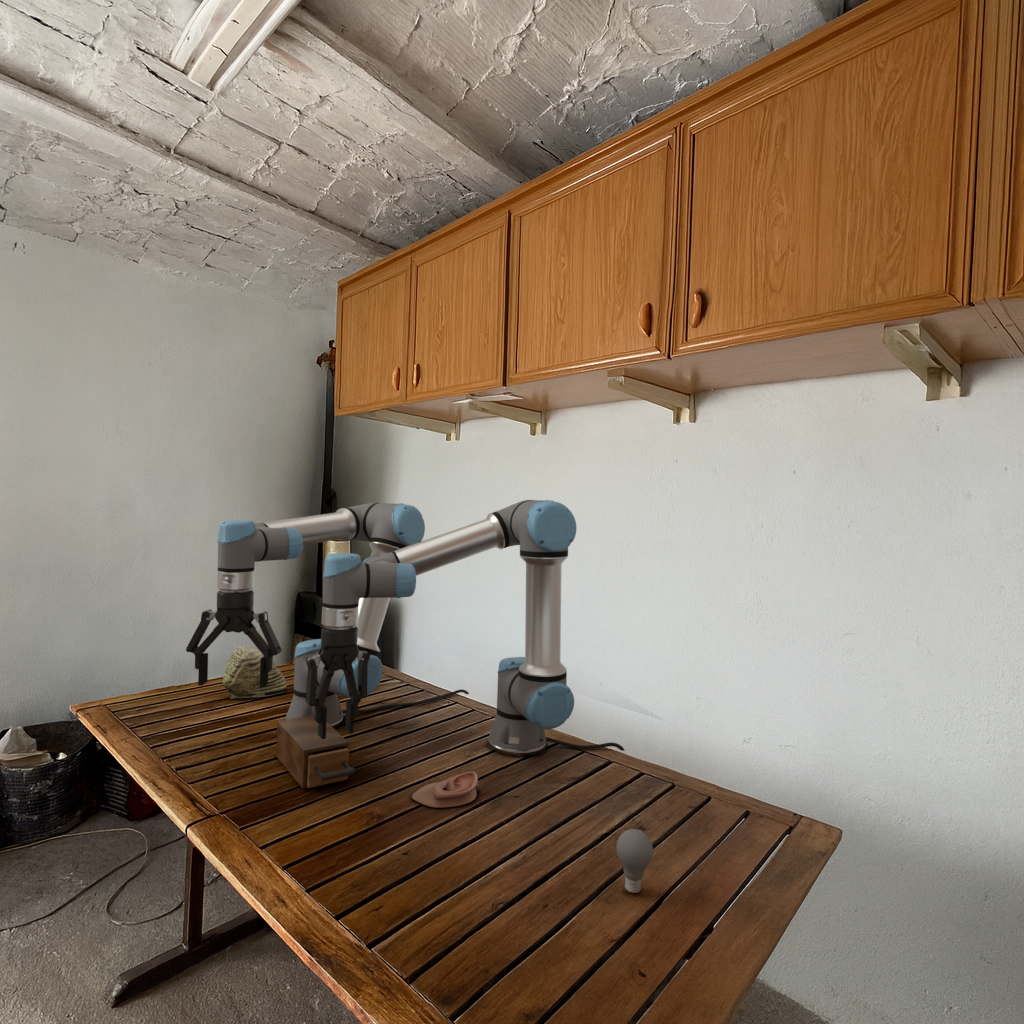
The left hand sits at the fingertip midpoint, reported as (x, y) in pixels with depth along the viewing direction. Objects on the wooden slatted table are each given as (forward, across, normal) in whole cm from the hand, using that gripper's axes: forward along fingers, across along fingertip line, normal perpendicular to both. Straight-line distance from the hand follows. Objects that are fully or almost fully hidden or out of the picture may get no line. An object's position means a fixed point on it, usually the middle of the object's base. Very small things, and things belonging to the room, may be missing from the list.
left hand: (233, 684), depth 141 cm
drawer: (+20, +19, +2) cm, 27 cm away
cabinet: (+21, +16, +6) cm, 27 cm away
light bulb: (+21, +83, -36) cm, 93 cm away
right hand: (+8, +25, -6) cm, 27 cm away
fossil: (+21, -18, +56) cm, 63 cm away
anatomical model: (+21, +48, -5) cm, 53 cm away
